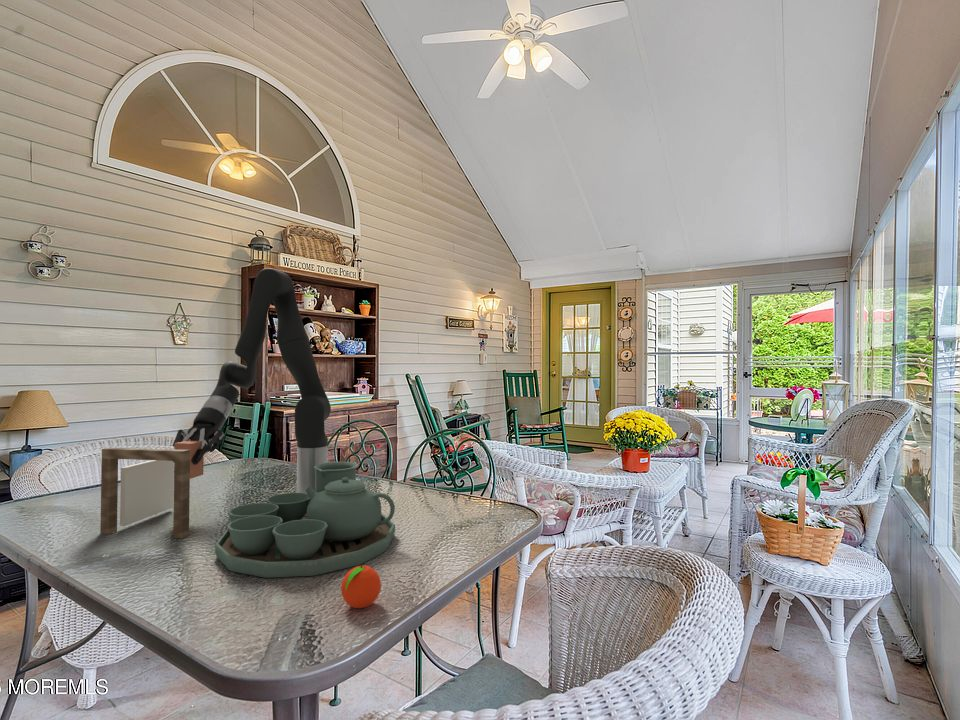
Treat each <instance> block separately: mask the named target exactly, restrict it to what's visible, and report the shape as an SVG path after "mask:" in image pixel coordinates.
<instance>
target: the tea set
mask: <svg viewBox="0 0 960 720" xmlns="http://www.w3.org/2000/svg"><path fill="white" fill-rule="evenodd" d="M358 467H359V463H356V462H351V461H329V462H328V463H322V464H318V465H316V466H314V468H315V469H316V492H315V491H314V490H313V489H312V488H311V487H310V486H309V487H308V488H307V489H306V492H307V494H306V493H297V492H285V493H278V494H274V495H272V496H269V497H267V498H266V500H265V502H257V503H248V504H242V505H238V506H236V507H233V508H230V509H229V511H228V512H227V514H228V516H229V518H230V522H229V524H227V527H226V528H227V529H226V530H225V531H224V532H223V533H222V534H221V536H220V537H219V539H218V540H217V541H216V543H215V545H214V554H215V556H216V558H217V559H218V560H219V561H220V562H221V563H222V564H223V565H224V566H225V567H226V568H227V569H228V570H229V571H230V572H234V573H238V574H245V575H250V576H255V577H260V578H265V579H271V578H290V577H291V578H292V577H293V578H294V577H312V576H314V577H315V576H318V575H319V576H320V575H323V574H326V573H331V572H335V571H340V570H344V569H347V568H348V569H349V568H354V567H357V566H361V565H362V564H364V563H366V562H368V561H369V560H371V559H373V558H375V557H377V556H379V555H381V554H383V553H384V552H386V551H387V550H388V548H389V546H390V544H391V543H392V540H393V539H394V536H395V534H396V524H395V523H394V522H393V521H391V520H392V519H393V517H394V515H395V507H396V505H395V503H394V500H393V499H392V497H391V496H390V495H388V494H386V493H383V492H379V493H375V492H373V491H371V490H370V489H367V488H366V484H365V483H364V482H363V481H362V480H359V479H358V480H357V478H356V477H357V468H358ZM380 498H381V499H385V500H386V501H387V503H388V504H389V507H390V509H389V510H390V511H389V514H388V516H386V515H385V514H383V513H382V504H381V503H382V502H381V500H380ZM310 500H311V501H310Z"/></svg>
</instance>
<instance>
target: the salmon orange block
mask: <svg viewBox="0 0 960 720" xmlns="http://www.w3.org/2000/svg"><path fill="white" fill-rule="evenodd" d="M173 443H174V442H173ZM200 444H201V442H199V441H190V440H189V441H183V442H178V443H174V446H173V447H174V448H173V449H181V450H190V480H191V479H194V478H197V477H200V476H204V457H205V456H203V457H202V459H201V461H200V462H199V463H198V464H197V465H194V464H193V463H192V462H191V459H192V457H193V456H194V454H195V453H196V451H197V449H199V445H200Z"/></svg>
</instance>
